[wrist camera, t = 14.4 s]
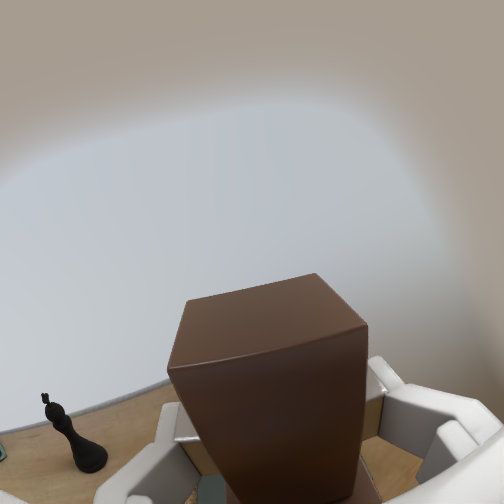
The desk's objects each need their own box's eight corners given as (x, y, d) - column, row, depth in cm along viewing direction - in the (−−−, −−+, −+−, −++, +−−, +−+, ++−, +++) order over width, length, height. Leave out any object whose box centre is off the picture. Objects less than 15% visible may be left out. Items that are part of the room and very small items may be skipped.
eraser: (251, 585, 4) (71, 492, 2) (237, 452, 12) (172, 276, 9) (384, 553, 4) (508, 387, 2) (331, 431, 12) (316, 245, 10)
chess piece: (107, 443, 23) (62, 377, 20) (109, 470, 19) (56, 403, 17) (76, 449, 21) (30, 385, 19) (76, 475, 17) (21, 410, 15)
